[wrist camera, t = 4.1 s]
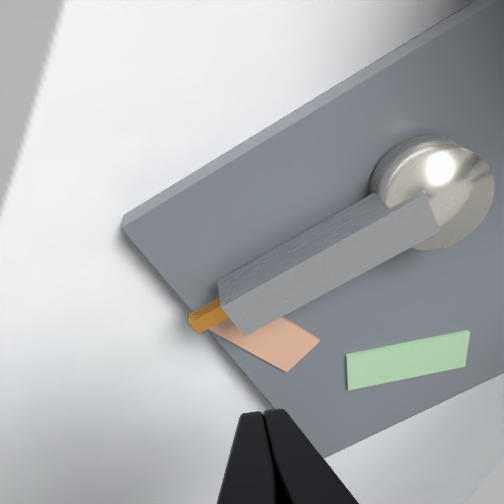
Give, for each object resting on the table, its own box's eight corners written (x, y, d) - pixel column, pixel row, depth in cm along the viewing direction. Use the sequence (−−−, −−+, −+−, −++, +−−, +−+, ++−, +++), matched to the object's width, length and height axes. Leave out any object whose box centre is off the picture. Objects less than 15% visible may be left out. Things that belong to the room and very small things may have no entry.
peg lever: (449, 113, 17) (484, 130, 15) (476, 196, 19) (510, 220, 17) (166, 276, 19) (164, 310, 17) (216, 337, 21) (220, 373, 19)
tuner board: (592, -72, 16) (625, -76, 15) (635, 287, 25) (658, 302, 24) (123, 215, 19) (120, 230, 18) (314, 443, 28) (320, 463, 27)
